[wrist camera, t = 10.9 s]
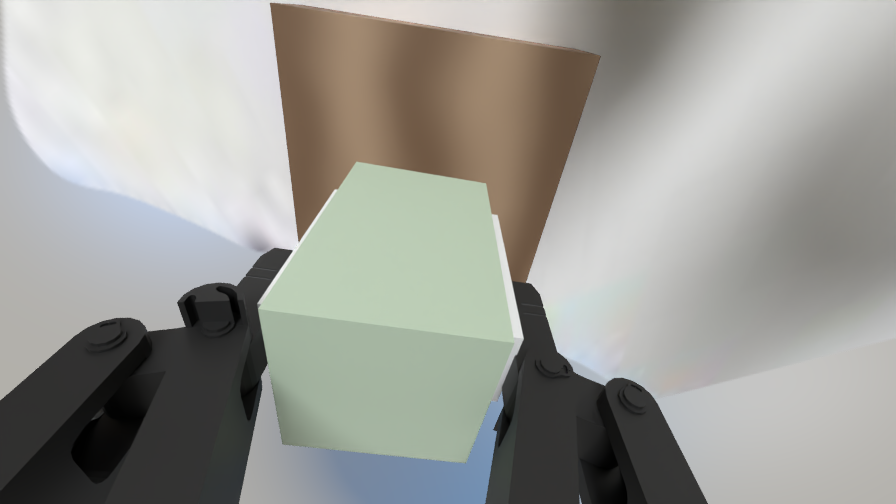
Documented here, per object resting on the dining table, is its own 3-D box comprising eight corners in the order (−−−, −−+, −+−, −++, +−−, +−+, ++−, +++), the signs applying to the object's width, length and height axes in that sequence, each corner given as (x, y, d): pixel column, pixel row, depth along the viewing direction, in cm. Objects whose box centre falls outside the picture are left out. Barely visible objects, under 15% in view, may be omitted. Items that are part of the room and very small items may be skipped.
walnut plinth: (575, 48, 19) (600, 56, 15) (512, 262, 26) (520, 298, 23) (305, 5, 18) (269, 2, 14) (322, 239, 26) (302, 272, 22)
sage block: (486, 183, 14) (514, 342, 7) (461, 282, 16) (465, 463, 10) (356, 161, 13) (257, 308, 7) (353, 266, 16) (282, 444, 9)
